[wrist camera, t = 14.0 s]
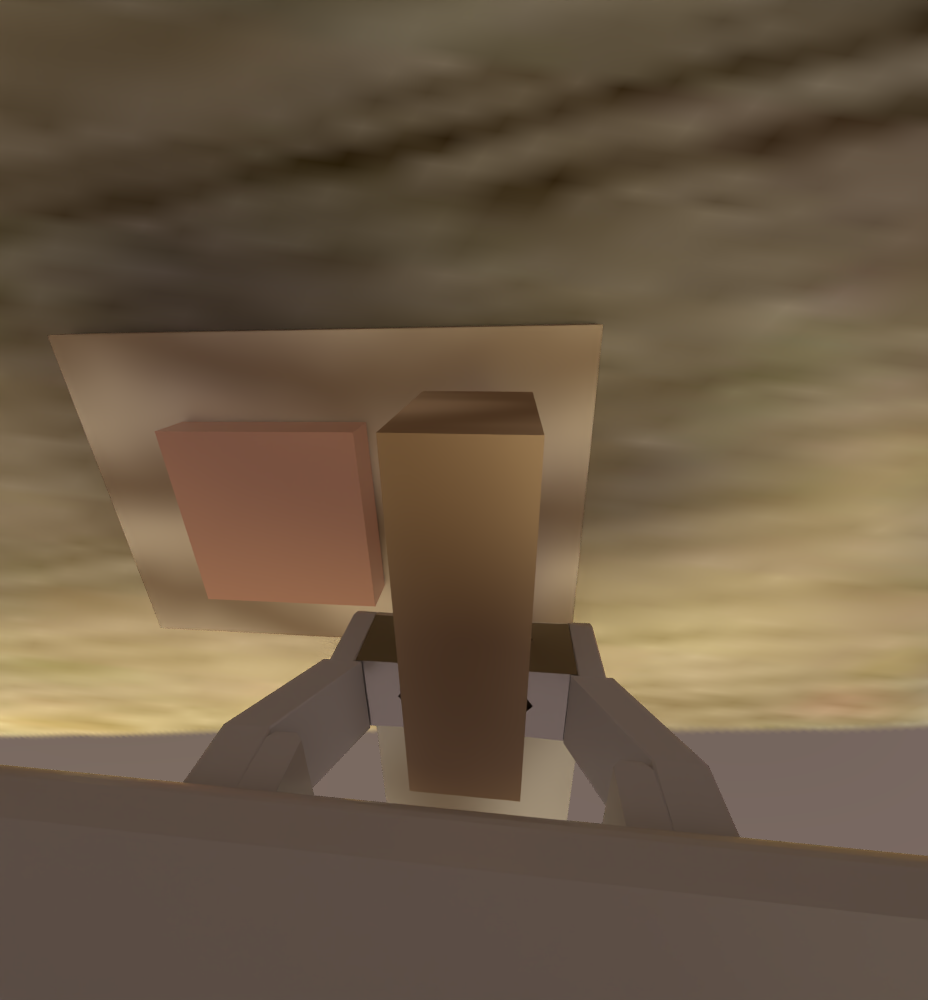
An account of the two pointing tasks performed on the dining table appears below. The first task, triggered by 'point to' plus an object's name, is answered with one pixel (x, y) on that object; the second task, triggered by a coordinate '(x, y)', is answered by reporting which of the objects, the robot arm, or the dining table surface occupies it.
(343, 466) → the tile
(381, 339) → the board
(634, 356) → the dining table surface
